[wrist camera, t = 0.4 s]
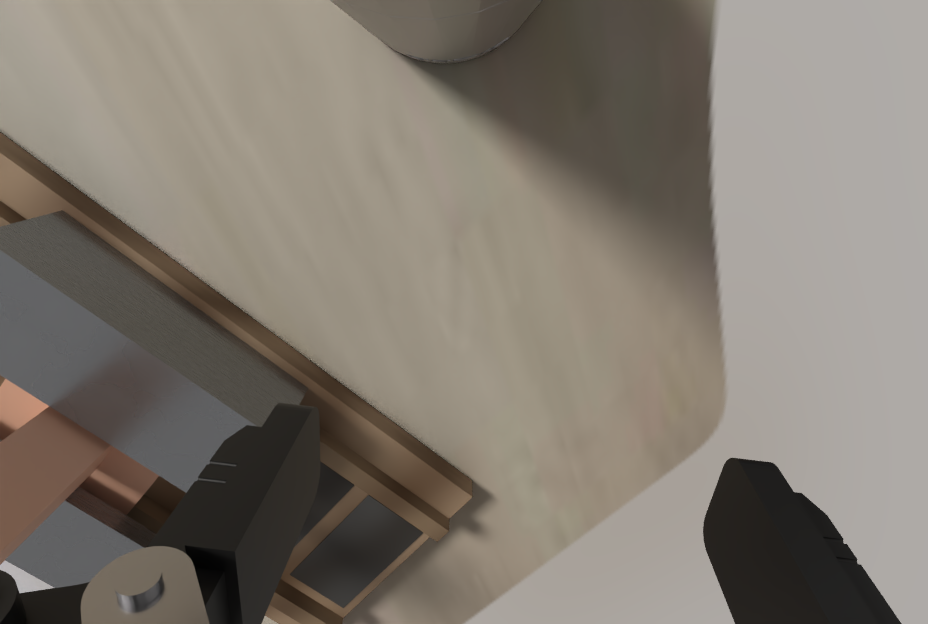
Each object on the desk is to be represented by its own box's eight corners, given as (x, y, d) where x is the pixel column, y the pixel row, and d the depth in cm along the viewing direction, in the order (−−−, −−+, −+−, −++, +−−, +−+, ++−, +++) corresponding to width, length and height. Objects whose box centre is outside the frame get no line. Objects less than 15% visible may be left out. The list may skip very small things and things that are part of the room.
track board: (-252, 275, 29) (-316, 291, 26) (-138, 30, 25) (-200, 23, 23) (320, 624, 37) (310, 659, 35) (471, 480, 33) (472, 508, 31)
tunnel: (-65, 409, 30) (-164, 466, 25) (62, 210, 26) (-25, 233, 22) (166, 548, 33) (117, 622, 28) (308, 388, 29) (279, 441, 25)
